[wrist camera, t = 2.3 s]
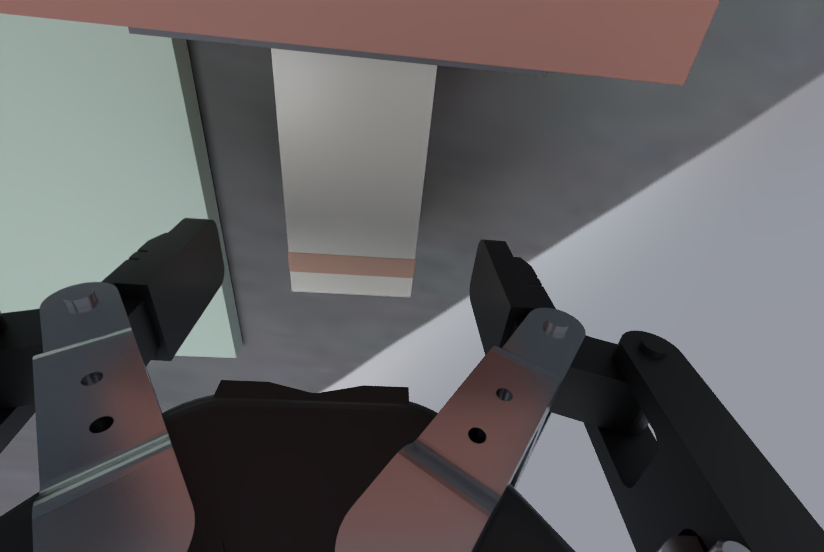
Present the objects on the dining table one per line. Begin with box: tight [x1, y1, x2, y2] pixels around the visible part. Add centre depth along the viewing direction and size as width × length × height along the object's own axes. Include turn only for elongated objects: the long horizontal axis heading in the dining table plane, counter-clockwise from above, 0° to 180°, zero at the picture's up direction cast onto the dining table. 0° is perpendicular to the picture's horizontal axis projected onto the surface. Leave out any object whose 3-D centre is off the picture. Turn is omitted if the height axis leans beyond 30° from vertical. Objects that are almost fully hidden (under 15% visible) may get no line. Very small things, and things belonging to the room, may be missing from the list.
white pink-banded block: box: [271, 48, 437, 297], centre depth 14 cm, size 13×4×6 cm, turn 175°
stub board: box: [0, 13, 243, 358], centre depth 18 cm, size 18×12×1 cm, turn 174°
